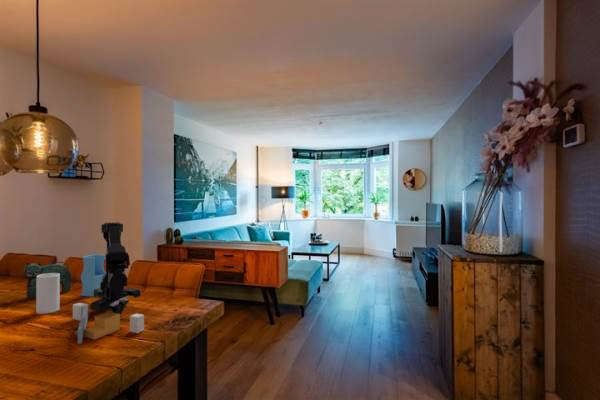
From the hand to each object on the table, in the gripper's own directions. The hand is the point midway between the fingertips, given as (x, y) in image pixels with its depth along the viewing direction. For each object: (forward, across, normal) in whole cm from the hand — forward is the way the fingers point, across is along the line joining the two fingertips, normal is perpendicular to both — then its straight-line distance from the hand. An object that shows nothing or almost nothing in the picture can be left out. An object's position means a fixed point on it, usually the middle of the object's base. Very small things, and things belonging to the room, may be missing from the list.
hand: (117, 319), depth 130 cm
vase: (+4, -26, -48) cm, 54 cm away
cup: (+3, -1, -43) cm, 43 cm away
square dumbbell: (+2, +1, -5) cm, 5 cm away
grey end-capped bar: (+2, +9, -8) cm, 12 cm away
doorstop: (+2, +7, +1) cm, 8 cm away
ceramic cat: (+4, -16, -68) cm, 70 cm away
